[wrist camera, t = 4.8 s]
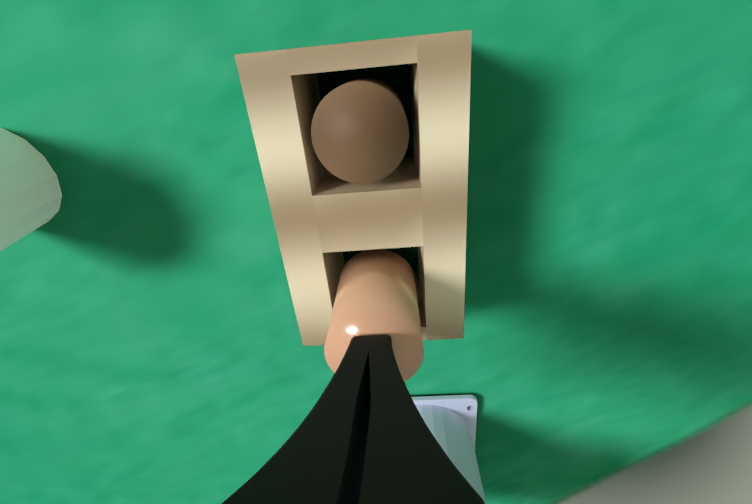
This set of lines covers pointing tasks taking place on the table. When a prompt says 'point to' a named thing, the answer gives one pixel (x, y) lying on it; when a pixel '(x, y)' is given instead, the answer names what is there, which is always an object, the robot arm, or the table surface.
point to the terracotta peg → (377, 308)
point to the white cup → (24, 189)
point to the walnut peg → (360, 130)
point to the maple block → (370, 200)
